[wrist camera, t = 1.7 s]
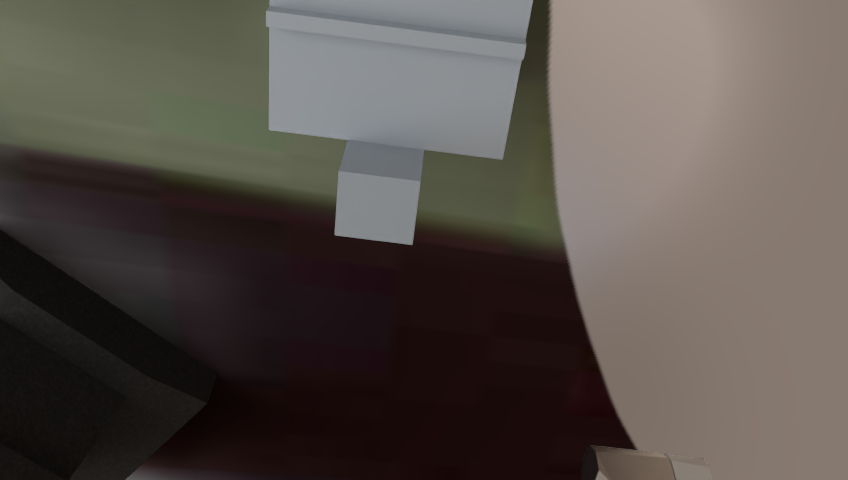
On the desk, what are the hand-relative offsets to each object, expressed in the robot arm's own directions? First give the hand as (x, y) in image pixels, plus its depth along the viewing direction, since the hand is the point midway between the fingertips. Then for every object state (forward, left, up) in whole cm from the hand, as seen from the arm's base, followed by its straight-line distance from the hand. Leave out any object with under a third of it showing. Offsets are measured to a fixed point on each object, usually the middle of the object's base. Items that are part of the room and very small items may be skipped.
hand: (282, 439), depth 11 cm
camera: (+29, -20, -29) cm, 46 cm away
